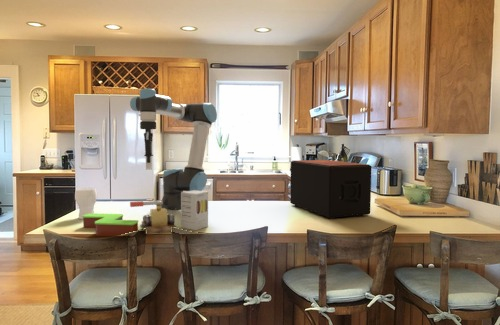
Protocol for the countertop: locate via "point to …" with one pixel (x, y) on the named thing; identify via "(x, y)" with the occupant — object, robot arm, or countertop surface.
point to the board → (158, 229)
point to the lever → (145, 203)
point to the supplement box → (194, 209)
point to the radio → (331, 187)
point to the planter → (109, 224)
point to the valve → (158, 217)
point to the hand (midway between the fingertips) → (148, 169)
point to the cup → (85, 200)
